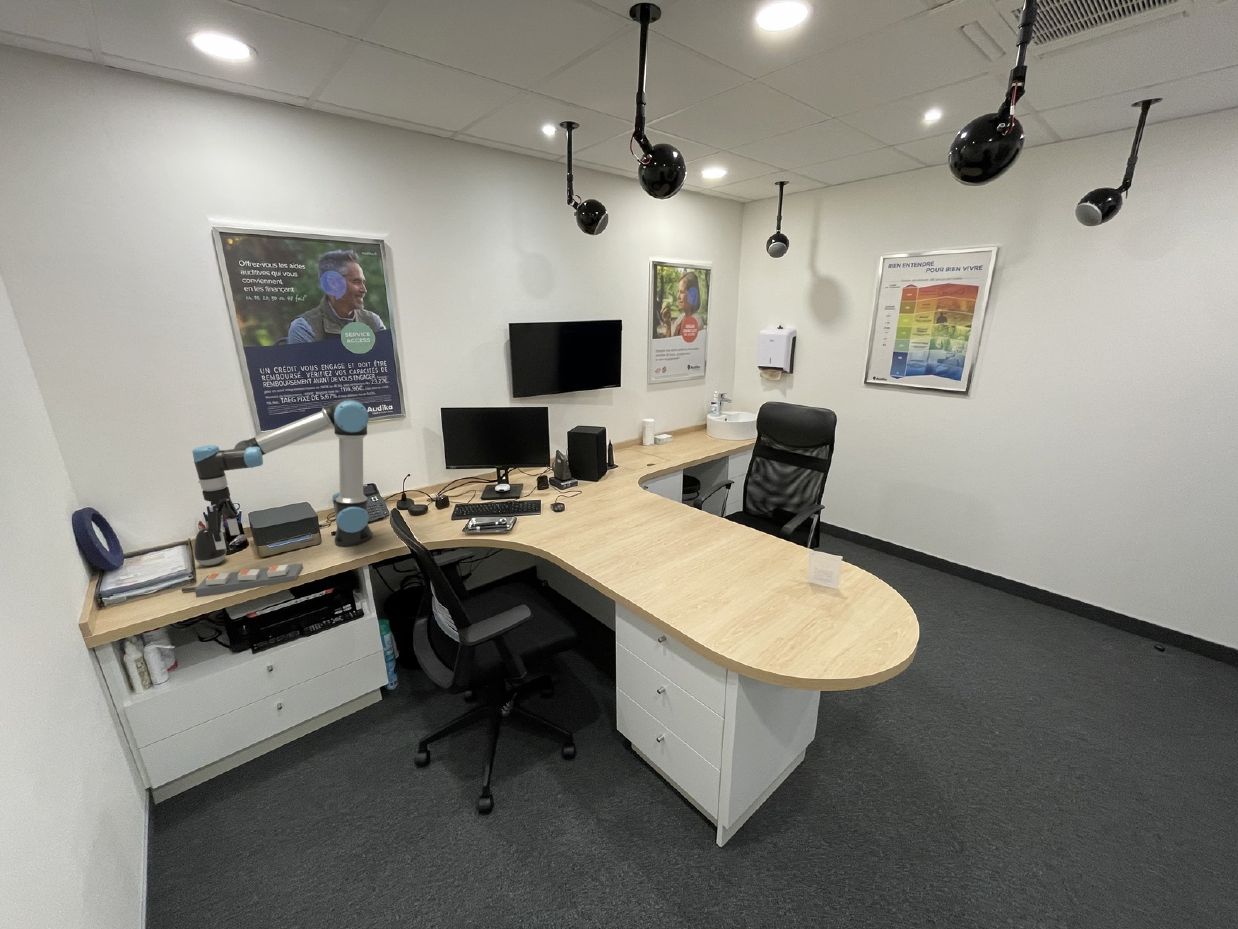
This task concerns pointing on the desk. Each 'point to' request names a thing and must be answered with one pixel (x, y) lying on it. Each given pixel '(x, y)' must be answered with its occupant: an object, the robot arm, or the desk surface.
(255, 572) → the block
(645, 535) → the desk surface
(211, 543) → the dark grey rounded dome
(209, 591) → the power strip
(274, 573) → the rocker
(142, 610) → the desk surface
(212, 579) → the rocker
